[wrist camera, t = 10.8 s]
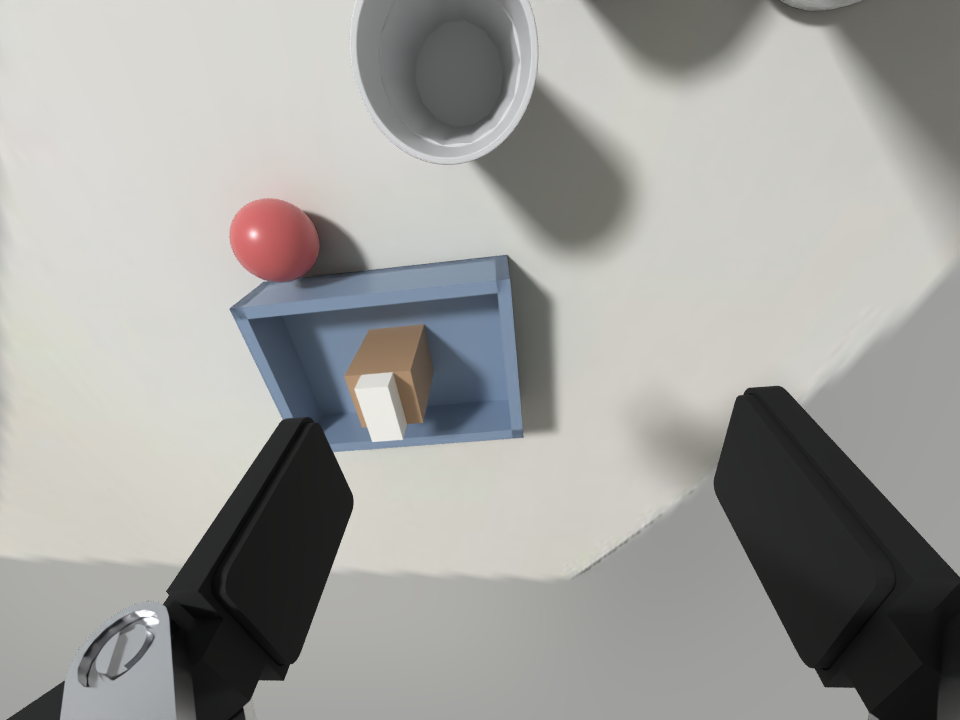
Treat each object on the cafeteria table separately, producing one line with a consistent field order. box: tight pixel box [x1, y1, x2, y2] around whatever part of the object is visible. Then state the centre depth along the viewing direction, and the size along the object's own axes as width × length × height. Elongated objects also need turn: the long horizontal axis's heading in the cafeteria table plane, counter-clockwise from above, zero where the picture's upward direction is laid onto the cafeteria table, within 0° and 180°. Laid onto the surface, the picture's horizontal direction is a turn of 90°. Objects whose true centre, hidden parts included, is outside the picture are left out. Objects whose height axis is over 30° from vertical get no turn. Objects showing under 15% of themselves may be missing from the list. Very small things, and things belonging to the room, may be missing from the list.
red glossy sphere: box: [229, 199, 319, 282], centre depth 31 cm, size 6×6×6 cm
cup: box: [350, 0, 538, 165], centre depth 22 cm, size 8×8×12 cm
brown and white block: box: [344, 324, 434, 442], centre depth 34 cm, size 5×5×9 cm
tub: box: [230, 255, 523, 452], centre depth 36 cm, size 21×15×6 cm
